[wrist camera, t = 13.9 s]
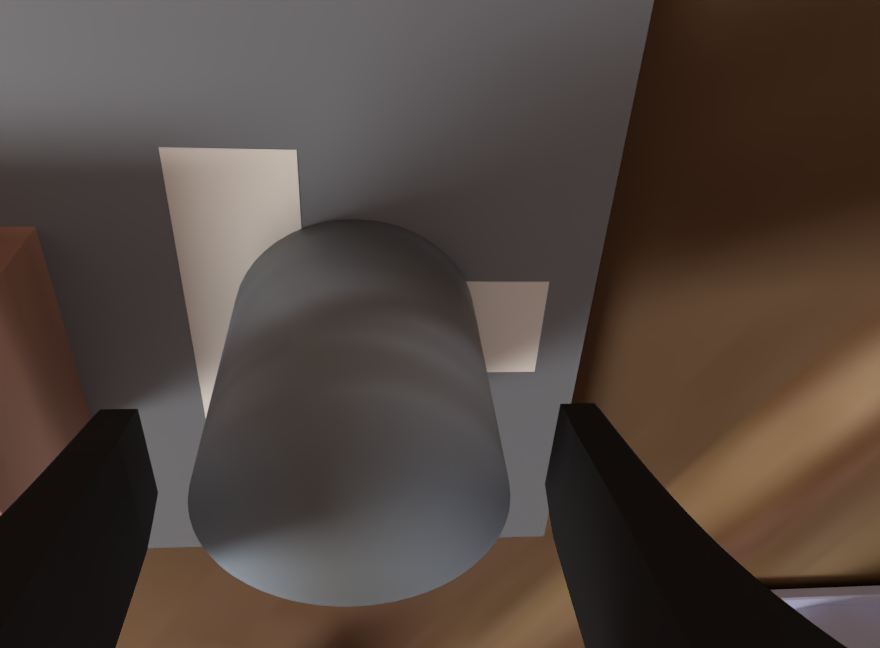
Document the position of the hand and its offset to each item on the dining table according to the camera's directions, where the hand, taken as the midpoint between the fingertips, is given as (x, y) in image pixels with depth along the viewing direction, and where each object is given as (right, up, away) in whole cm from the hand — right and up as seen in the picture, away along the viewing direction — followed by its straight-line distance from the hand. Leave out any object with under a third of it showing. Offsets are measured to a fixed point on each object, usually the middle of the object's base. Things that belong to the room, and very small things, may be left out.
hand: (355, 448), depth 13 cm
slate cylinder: (0, +2, +3) cm, 4 cm away
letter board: (-4, +3, +3) cm, 6 cm away
